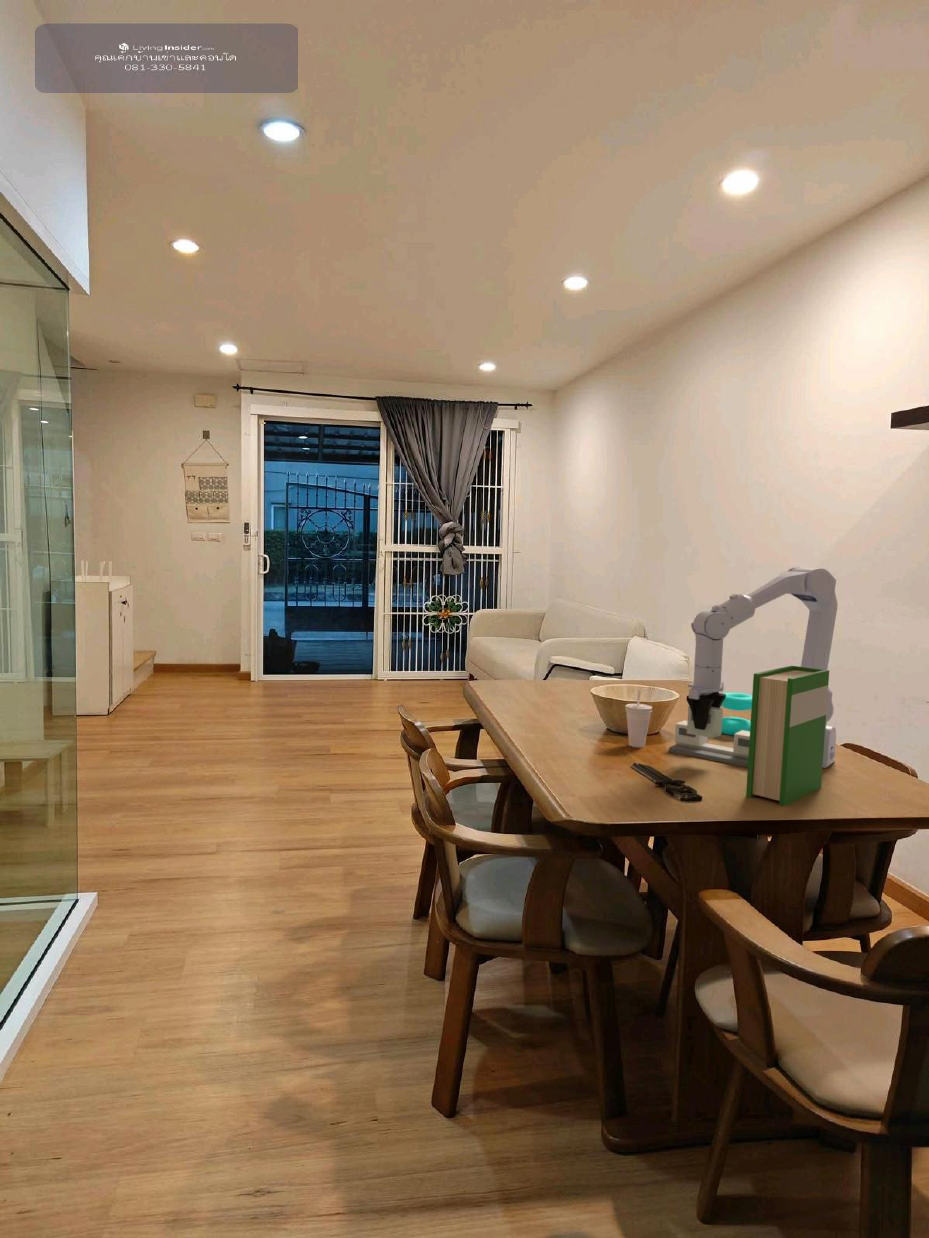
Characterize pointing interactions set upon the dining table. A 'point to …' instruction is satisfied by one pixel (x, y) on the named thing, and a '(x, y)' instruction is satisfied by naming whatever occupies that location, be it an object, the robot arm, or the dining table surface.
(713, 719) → the block
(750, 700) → the donuts
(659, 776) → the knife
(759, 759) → the hardback book
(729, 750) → the plate
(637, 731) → the smoothie
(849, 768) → the dining table surface
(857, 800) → the dining table surface
